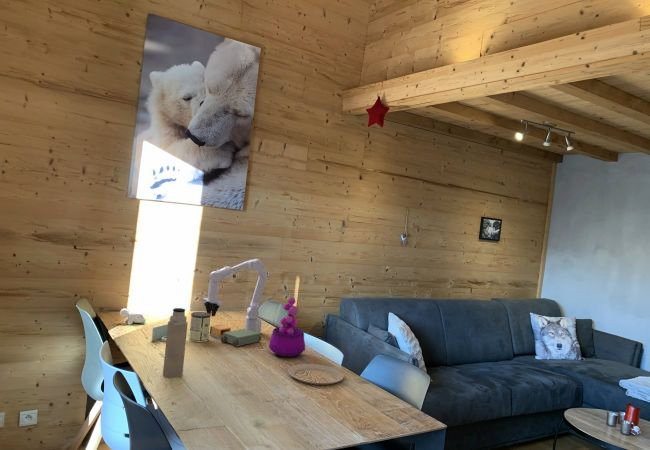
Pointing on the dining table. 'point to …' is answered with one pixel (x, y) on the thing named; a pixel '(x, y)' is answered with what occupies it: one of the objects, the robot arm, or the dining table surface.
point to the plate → (301, 367)
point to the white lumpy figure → (132, 316)
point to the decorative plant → (288, 334)
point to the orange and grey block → (219, 330)
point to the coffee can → (199, 326)
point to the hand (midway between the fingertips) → (210, 315)
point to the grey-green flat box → (239, 337)
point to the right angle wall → (160, 332)
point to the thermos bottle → (175, 344)
